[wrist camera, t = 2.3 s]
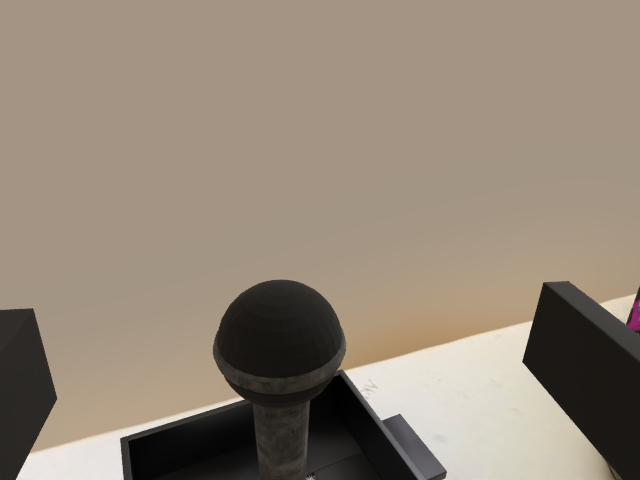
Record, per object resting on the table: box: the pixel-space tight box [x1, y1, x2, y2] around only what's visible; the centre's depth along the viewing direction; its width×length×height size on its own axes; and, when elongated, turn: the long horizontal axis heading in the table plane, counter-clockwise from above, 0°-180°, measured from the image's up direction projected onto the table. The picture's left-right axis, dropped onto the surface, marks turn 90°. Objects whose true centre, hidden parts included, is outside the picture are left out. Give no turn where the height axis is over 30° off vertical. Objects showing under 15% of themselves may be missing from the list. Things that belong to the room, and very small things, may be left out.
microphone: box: [213, 280, 346, 480], centre depth 26 cm, size 7×7×20 cm
